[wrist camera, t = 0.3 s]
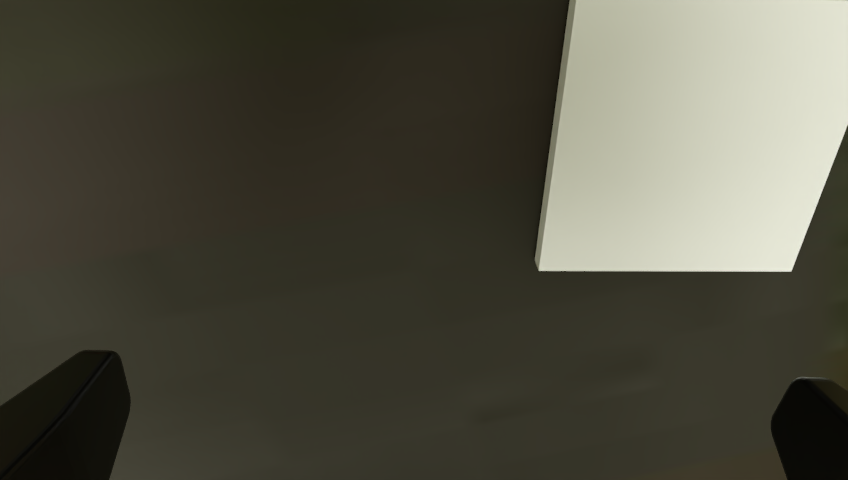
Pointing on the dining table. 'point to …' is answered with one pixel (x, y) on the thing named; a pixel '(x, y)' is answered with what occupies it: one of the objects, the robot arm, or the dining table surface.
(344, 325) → the dining table surface
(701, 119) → the cream panel
